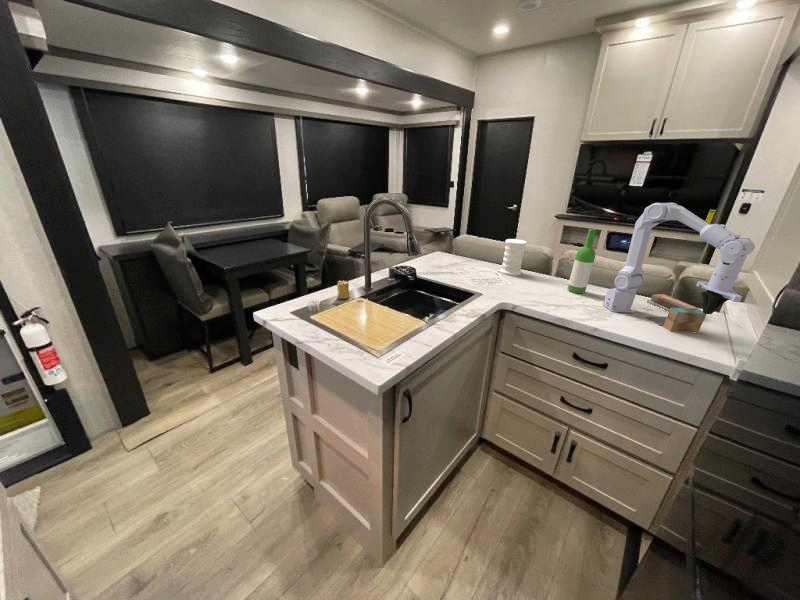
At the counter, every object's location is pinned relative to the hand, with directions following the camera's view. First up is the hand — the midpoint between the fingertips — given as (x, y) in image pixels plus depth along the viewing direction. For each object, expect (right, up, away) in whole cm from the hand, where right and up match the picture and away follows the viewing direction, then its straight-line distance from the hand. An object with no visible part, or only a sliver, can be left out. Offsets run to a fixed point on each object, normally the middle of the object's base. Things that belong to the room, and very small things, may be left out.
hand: (707, 313), depth 107 cm
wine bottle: (-20, +9, +45) cm, 50 cm away
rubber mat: (+1, -4, +16) cm, 17 cm away
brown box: (0, -7, +10) cm, 12 cm away
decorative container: (-43, +20, +69) cm, 84 cm away
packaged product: (+13, 0, +28) cm, 30 cm away
